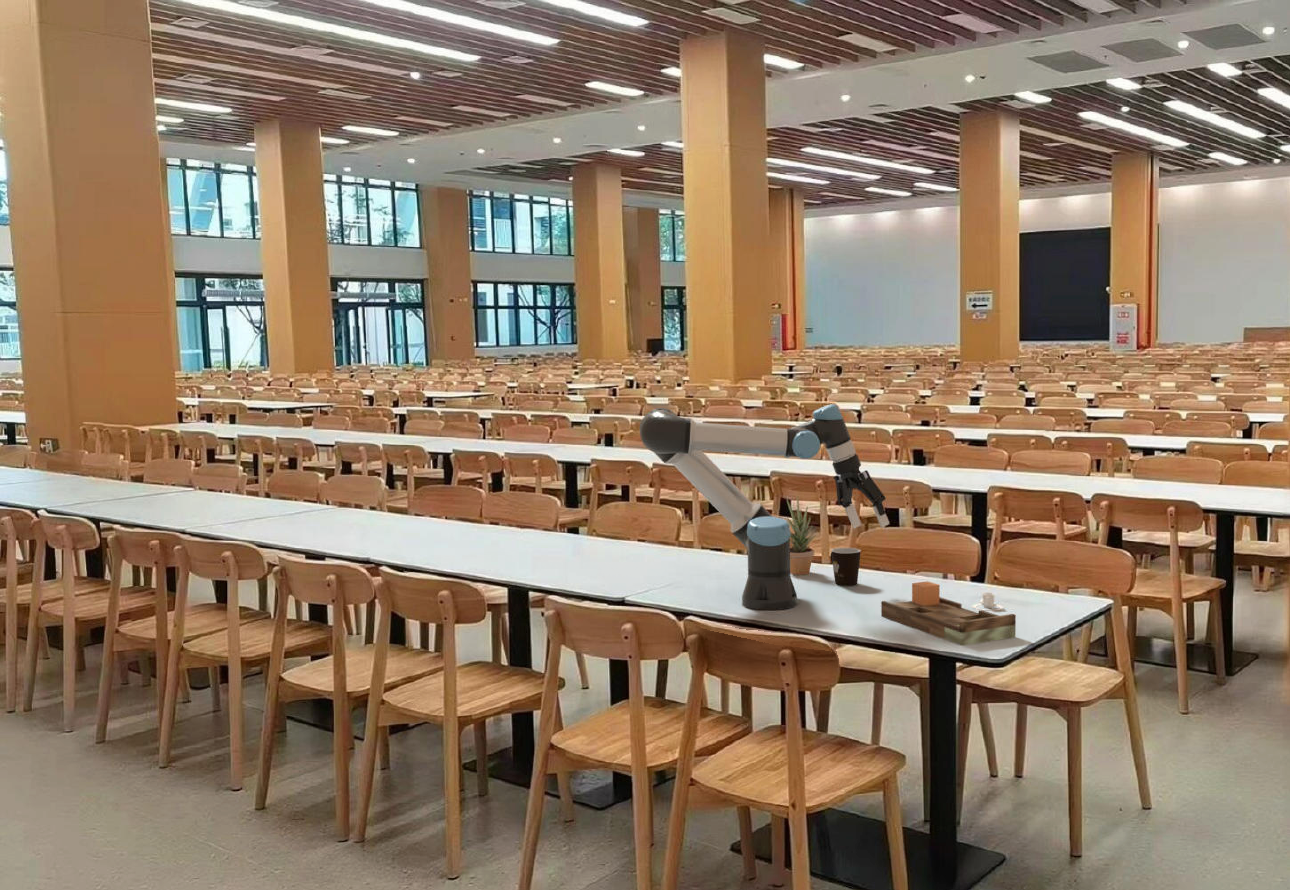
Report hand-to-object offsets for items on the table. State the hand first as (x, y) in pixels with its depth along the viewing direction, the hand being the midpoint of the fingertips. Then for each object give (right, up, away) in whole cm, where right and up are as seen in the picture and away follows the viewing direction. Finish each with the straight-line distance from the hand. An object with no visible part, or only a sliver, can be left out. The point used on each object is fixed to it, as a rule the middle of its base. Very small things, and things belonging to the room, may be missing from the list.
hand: (871, 526), depth 347 cm
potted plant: (-17, -17, +29) cm, 38 cm away
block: (+9, -18, -27) cm, 34 cm away
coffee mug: (-5, -18, +13) cm, 23 cm away
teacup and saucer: (+30, -21, -20) cm, 42 cm away
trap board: (+11, -22, -40) cm, 47 cm away
